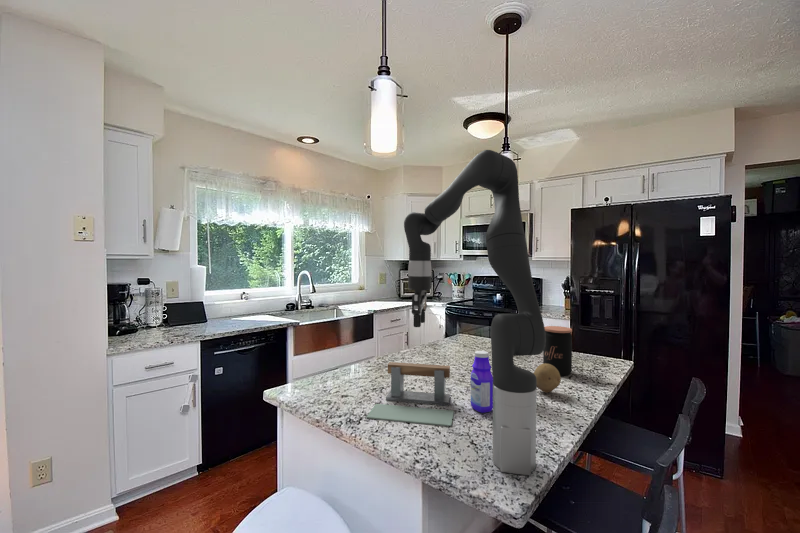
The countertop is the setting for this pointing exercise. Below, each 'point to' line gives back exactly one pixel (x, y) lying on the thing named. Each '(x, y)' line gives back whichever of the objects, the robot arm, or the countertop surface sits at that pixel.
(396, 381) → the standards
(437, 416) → the mat
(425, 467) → the countertop surface
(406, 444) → the countertop surface
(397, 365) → the rail
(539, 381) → the tan round lump
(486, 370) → the bottle
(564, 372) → the coffee jar
